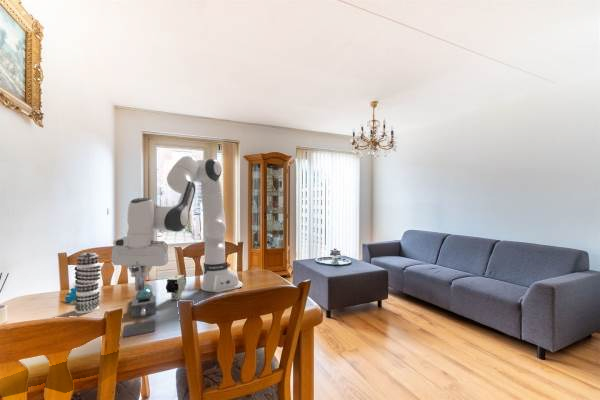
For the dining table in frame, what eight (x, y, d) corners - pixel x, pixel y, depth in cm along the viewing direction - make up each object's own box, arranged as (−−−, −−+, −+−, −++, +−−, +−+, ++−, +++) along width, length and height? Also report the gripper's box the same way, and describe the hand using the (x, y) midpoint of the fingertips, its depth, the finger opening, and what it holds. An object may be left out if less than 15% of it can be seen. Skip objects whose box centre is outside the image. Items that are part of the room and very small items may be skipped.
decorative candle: (84, 315, 115) (85, 255, 115) (68, 312, 118) (69, 254, 118) (105, 306, 124) (106, 251, 124) (89, 304, 126) (90, 250, 126)
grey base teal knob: (154, 296, 137) (155, 282, 137) (155, 319, 112) (156, 302, 112) (134, 299, 133) (134, 285, 133) (130, 323, 108) (130, 306, 108)
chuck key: (142, 286, 107) (142, 258, 107) (149, 286, 107) (149, 258, 107) (129, 292, 100) (129, 262, 100) (136, 292, 100) (136, 263, 100)
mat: (154, 320, 110) (154, 319, 110) (154, 331, 102) (154, 330, 102) (125, 326, 106) (125, 325, 106) (122, 337, 97) (122, 336, 97)
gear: (60, 297, 131) (79, 279, 136) (70, 303, 135) (88, 285, 140) (69, 305, 125) (88, 286, 130) (79, 311, 129) (98, 292, 134)
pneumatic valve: (165, 303, 129) (165, 278, 129) (177, 294, 140) (177, 271, 140) (176, 303, 129) (177, 278, 129) (187, 295, 140) (188, 271, 140)
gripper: (171, 239, 107) (171, 275, 107) (120, 238, 107) (119, 274, 107) (163, 242, 100) (162, 280, 100) (108, 241, 101) (108, 278, 101)
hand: (140, 276), depth 104 cm, fingers closed on chuck key, 3 cm apart
